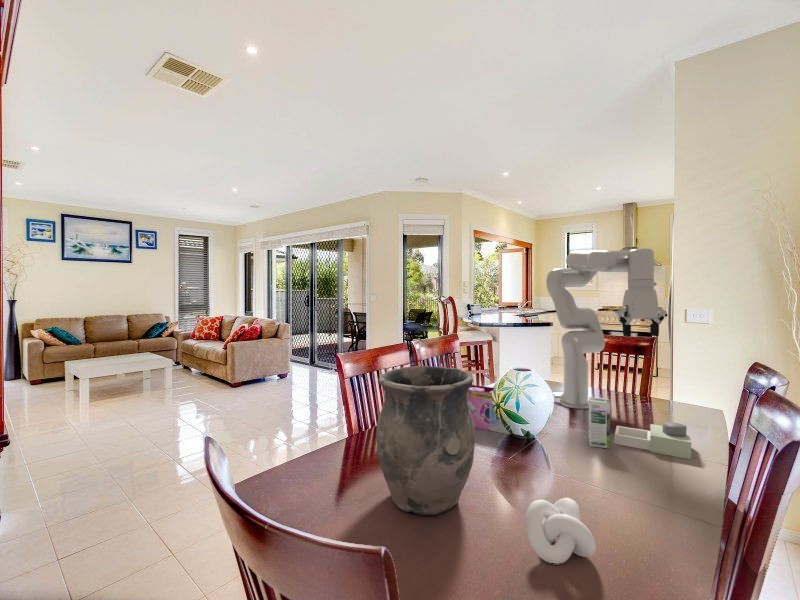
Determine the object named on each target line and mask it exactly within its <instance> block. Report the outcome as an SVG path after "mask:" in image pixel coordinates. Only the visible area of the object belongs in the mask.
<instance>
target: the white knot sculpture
mask: <svg viewBox="0 0 800 600" xmlns="http://www.w3.org/2000/svg"><path fill="white" fill-rule="evenodd" d="M525 528H526V529H525V530H526V533H527V536H528V540H529V542H530V545H531V547H532V548H533V550H534V551H535V553H536V554H537V555H538V556H539V557H540V559H542V560H543V561H545V562H546V563H548V562H549V564H551V563H557V565H559V564H558V563H561V564H563V563H565V562H566V561H568V560H569V558H570V557H571V556H572V554H575V555H577V556H579V557H581V556H582V558H588V557H591V556H592V555H594V553H595V552H596V546H597V545H596V541H595V538H594V536H593V534H592V532H591V531H590V529H589V528H588V527H587V526H586V525H585V524H584V523H583V522H582V521H581V511H580V508H579V504H578V503H577V502H576V501H575V500H574V499H572V498H570V497H563V498H560V499H558V500H557V501H555V502H554V503H551V502H549V501H547V500H546V499H536V500H534V501H532V502H531V503H530V505H529V506H528V508H527V511H526V514H525ZM555 541H556V542H555ZM554 542H555V543H554ZM553 543H554V544H553Z"/></svg>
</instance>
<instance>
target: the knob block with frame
mask: <svg viewBox="0 0 800 600" xmlns="http://www.w3.org/2000/svg"><path fill="white" fill-rule="evenodd" d="M649 427H650V429H649V430H648V429H647V430H646V429H640V428H633V427H630V426H629V427H628V426H623V425H622V426H621V425H616V428H615V432H614V445H618V446H619V445H620V446H624V447H630V448H636V449H640V450H647V451H649V452H650V453H655V454H661V455H666V456H671V457H677V458H680V459H681V458H682V459H687V460H692V439H691V436H690V432H689V429H687V425H684V424H683V423H680V422H679V423H678V422H674V421H664V422H662V425H660V424H659V425H658V424H652V423H650V426H649Z"/></svg>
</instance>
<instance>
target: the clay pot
mask: <svg viewBox="0 0 800 600" xmlns="http://www.w3.org/2000/svg"><path fill="white" fill-rule="evenodd" d="M378 383H379V384H380V386H381V388H382V390H383V391H384V402H383V404H382V406H381V409H380V412H379V415H378V419H377V425H376V435H375V436H376V451H377V455H378V457H377V458H378V460H379V461H378V462H379V465H380V468H381V471H382V474H383V479H384V480H385V482H386V485H387V488H388V491H389V493H390V495H391V499H392V502H393V503H394V504H395V505H396V507H397V509H399V510H401V511H403V512H406V513H412V512H413V513H412V514H414V513H415V515H418V516H419V515H420V516H427V515H431V516H435V515H436V516H437V515H440V514H443V513H446V512H447V511H449V510H450V509H452V508H453V507H456V505H457V504H458V502H459V500H460V497H461V494H462V491H463V490H464V489H465V488H464V487H465V486H466V483H467V481H468V478H469V476H470V473H471V470H472V467H473V463H474V458H475V457H474V454H475V444H476V434H475V433H476V432H475V430H476V429H475V428H474V423H473V418H472V414H471V410H470V407H469V404H468V400H467V392H468V390H469V388H470V386H471V385H473V383H474V378H473V374H472V373H469V372H468V371H466V370H462V369H460V368H451V367H443V366H430V365H429V366H428V365H415V366H414V365H413V366H404V367H401V368H400V367H399V368H396V369H390V370H388V371H386V372H383V373H381V374H380V375H379V377H378Z"/></svg>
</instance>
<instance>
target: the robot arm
mask: <svg viewBox="0 0 800 600" xmlns="http://www.w3.org/2000/svg"><path fill="white" fill-rule="evenodd" d="M565 263H566V265H567V267H560V268H559V267H558V268H554V269H551V270H550V271H549V272H548V273H547V275H546V280H545V281H546V289H547V292H548V293H549V295H550V297H551V300H552V302H553V305H554V308H555V312H556V316H557V319H558V322H559V325H560V327H561V328H563V329H565V330H571V331H568V332H565V333H564V334H563V335H562V337H561V348H562V353H563V392H554V391H553V393H552V395H553V394H554V398H555V399H560V400H559V404H560V405H561V406H563V407H566V408H570V409H576V410H577V409H578V410H579V409H580V410H586V409H589V362H588V360H587V358H586V357H585V354H594V353H600V352H602V351H603V350H604V348H605V346H606V339H605V336H604V332H603V329H602V327H601V324H600V321H599V318H598V315H597V314H596V312H595V310H593V309H592V308H590V307H578V306H577V304H576V301H575V298H574V296H573V295H572V293H570V292H569V290H568V289H566V288H582V287H584V286H587V285H588V284H589V283H590V282H591V280H592V279H593V278H594V277H595V276H596V275H597V273H598V272H602V273H603V272H604V273H614V272H615V273H616V272H617V273H627V289H625V291H624V294H623V298H622V299H623V300H622V308H619V309H617V310H615V312H614V314H615V316H616V318H617V320H618V321H619V323H620V324H621V325H622V336H623V337H628V338H630V337H631V336H632V324H631V323H632V321H633V320H649V321H650V322H651V323H650V325H649V327H650V336H653V337H659V336H660V334H659V333H660V325H661V324H662V322H663V321H664V320H665V317H666V314H667V311H666V310H665V309H662V308H661V307H660V306H659V299H658V293H657V290H656V289H655V287H656V286H657V285H658V284H657V282H656V281H655V252H654V250H653V249H651V248H643V247H642V248H634V249H631V250H599V249H578V250H573V251H571V252H570V253H568V254H567V256H566V259H565Z"/></svg>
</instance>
